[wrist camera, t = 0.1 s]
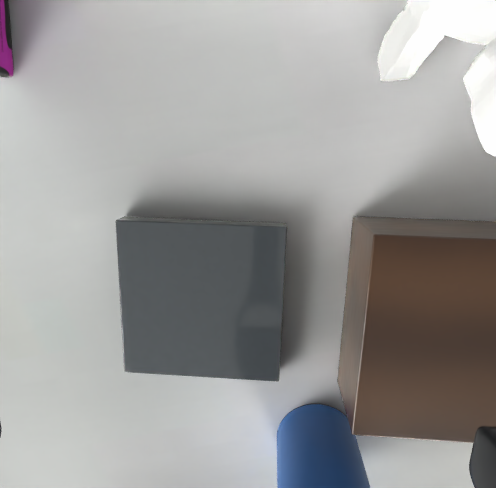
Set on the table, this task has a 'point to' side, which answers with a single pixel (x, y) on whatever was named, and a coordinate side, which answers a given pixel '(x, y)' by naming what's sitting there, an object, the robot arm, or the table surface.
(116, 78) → the table surface
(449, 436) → the walnut block
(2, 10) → the candy bar box
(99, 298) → the table surface
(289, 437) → the blue bottle
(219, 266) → the slate tile
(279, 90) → the table surface
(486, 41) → the white tortoise figurine
